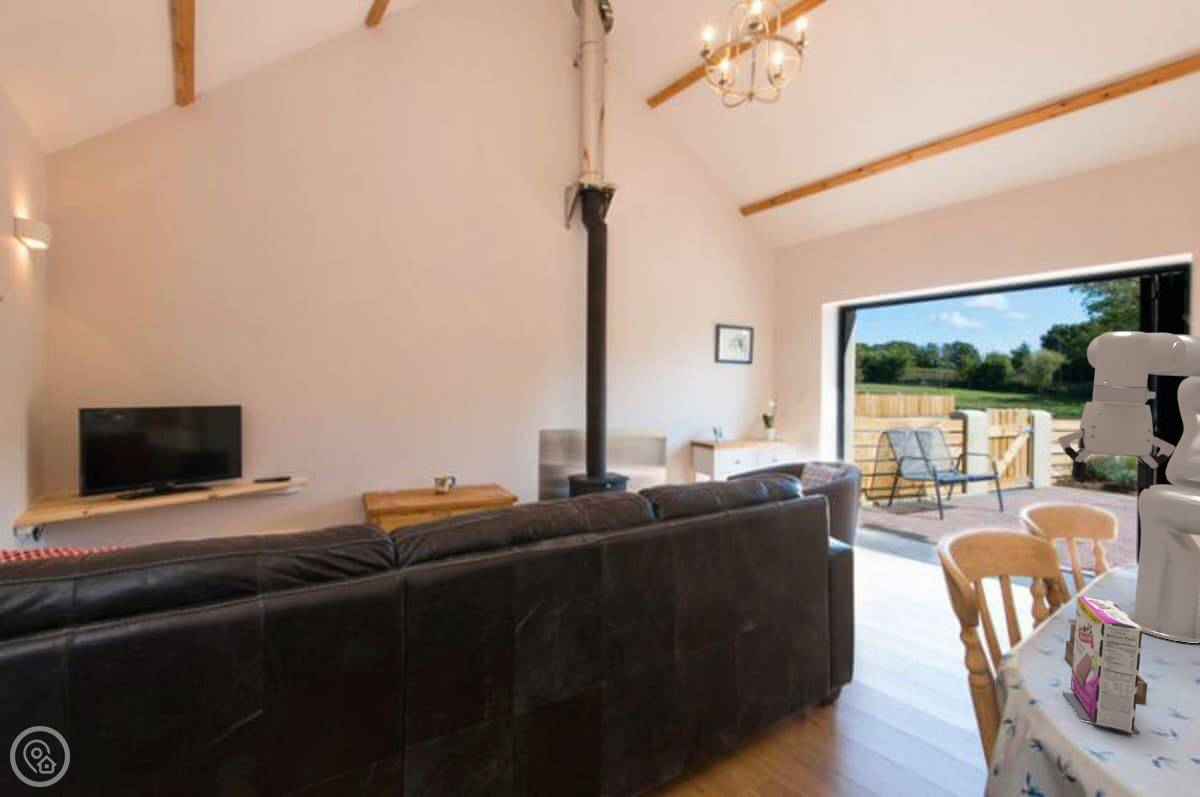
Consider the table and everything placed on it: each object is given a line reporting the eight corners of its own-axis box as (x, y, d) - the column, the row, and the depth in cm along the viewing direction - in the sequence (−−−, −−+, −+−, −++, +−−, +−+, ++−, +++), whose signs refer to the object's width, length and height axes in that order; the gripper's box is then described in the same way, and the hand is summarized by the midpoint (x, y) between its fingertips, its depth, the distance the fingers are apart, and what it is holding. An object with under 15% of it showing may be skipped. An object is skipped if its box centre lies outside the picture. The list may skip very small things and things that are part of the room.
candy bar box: (1067, 688, 96) (1075, 594, 95) (1105, 697, 94) (1114, 600, 93) (1092, 725, 86) (1102, 620, 85) (1135, 735, 84) (1145, 627, 83)
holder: (1111, 667, 105) (1115, 625, 104) (1145, 704, 93) (1150, 657, 93) (1064, 658, 108) (1068, 617, 107) (1091, 693, 96) (1096, 647, 95)
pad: (1116, 706, 92) (1116, 703, 92) (1139, 734, 85) (1139, 731, 85) (1062, 694, 95) (1063, 692, 95) (1081, 721, 88) (1081, 718, 88)
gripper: (1167, 398, 108) (1159, 486, 109) (1056, 393, 115) (1049, 476, 116) (1189, 399, 101) (1180, 494, 102) (1069, 394, 108) (1062, 482, 109)
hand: (1110, 484), depth 109 cm, fingers open, 9 cm apart
